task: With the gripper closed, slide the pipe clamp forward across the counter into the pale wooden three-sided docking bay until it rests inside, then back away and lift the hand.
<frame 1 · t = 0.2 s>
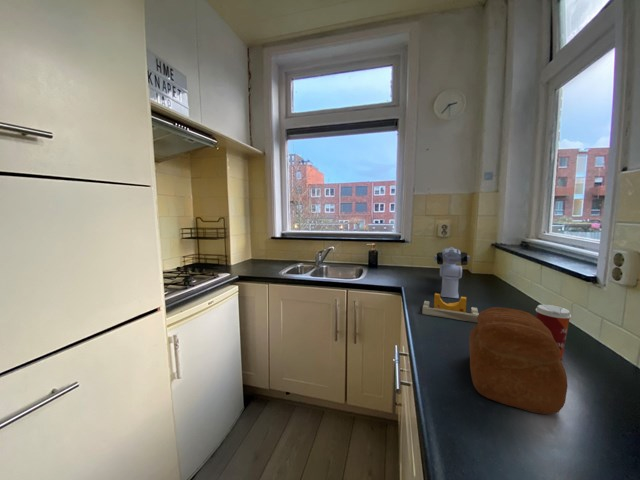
hand: (451, 260, 110), 21 cm above the counter, tool horizontal, fingers open, 7 cm apart
bread: (508, 382, 63), on the counter
docking bay: (449, 313, 106), on the counter
paper cup: (548, 355, 75), on the counter
pipe clamp: (449, 310, 111), on the counter
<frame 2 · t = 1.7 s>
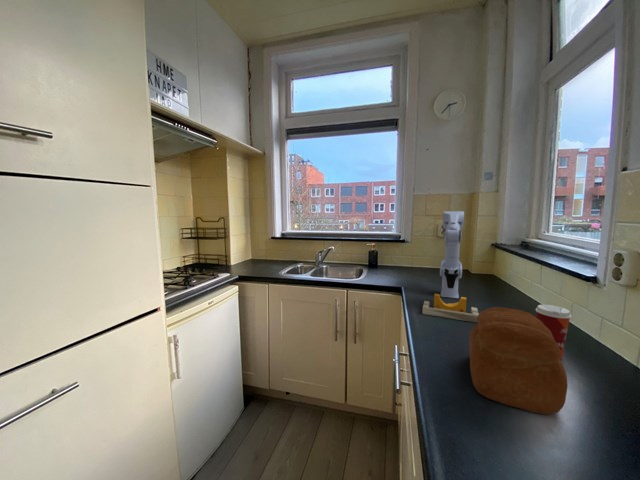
hand: (450, 286, 116), 8 cm above the counter, tool pointing down, fingers open, 6 cm apart
nothing on the counter moved.
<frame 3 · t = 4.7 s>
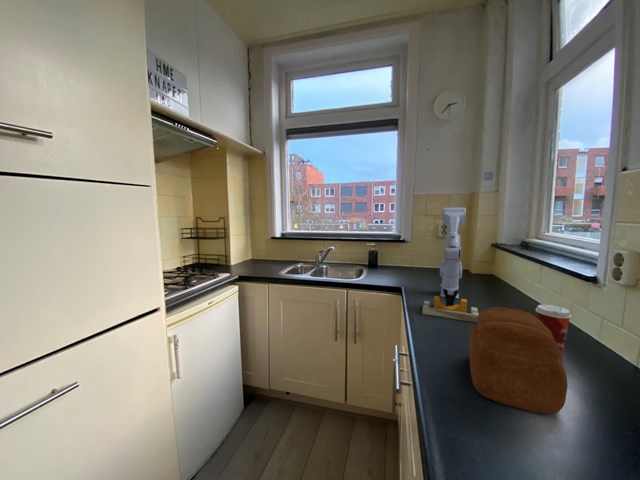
hand: (449, 306, 110), 1 cm above the counter, tool pointing down, fingers closed
pipe clamp: (449, 313, 107), on the counter, touching gripper
everything else where it was.
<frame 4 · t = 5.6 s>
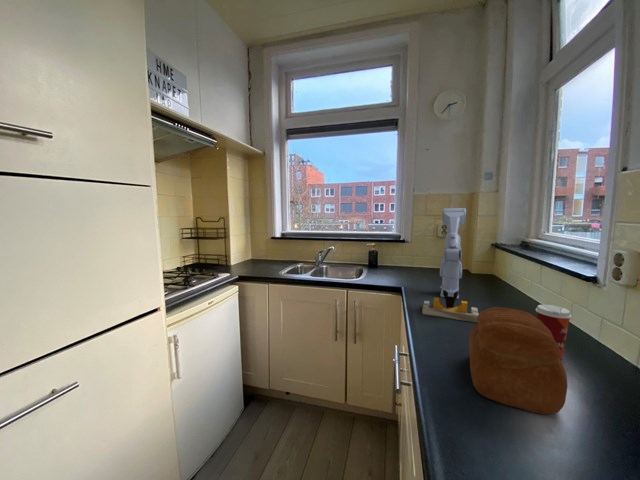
hand: (449, 308, 108), 1 cm above the counter, tool pointing down, fingers closed
pipe clamp: (449, 315, 105), on the counter
everything else where it was.
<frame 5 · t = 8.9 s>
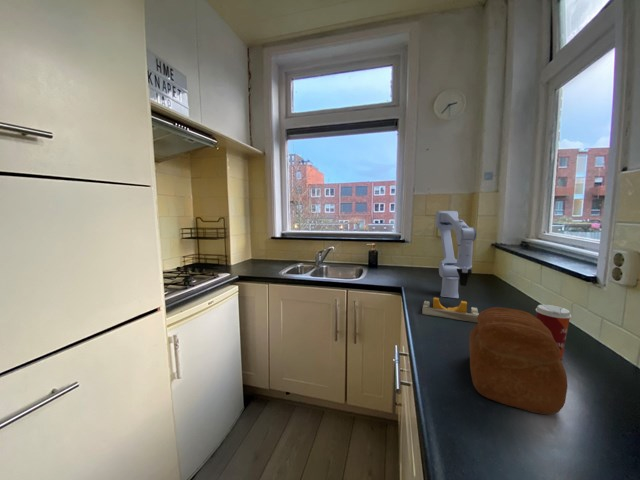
hand: (463, 285, 114), 9 cm above the counter, tool pointing down, fingers closed
nothing on the counter moved.
at the end: pipe clamp inside the target area on the docking bay (1.3 cm from its centre), point 0.0 cm above the docking bay's base; pipe clamp tilted 0°; pipe clamp moved 6.3 cm from its start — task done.
